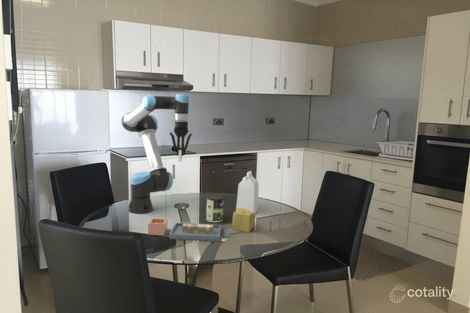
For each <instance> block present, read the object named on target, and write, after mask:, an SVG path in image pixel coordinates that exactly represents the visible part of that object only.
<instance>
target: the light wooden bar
mask: <svg viewBox="0 0 470 313" xmlns="http://www.w3.org/2000/svg"><path fill="white" fill-rule="evenodd" d="M201 224H202V223H195V224H183V225H182V232H183V233H203V234H213V225H201Z"/></svg>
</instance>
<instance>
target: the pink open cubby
mask: <svg viewBox="0 0 470 313" xmlns="http://www.w3.org/2000/svg"><path fill="white" fill-rule="evenodd" d="M168 220H169V219H168V218H160V217H159V218H157V217H151V218H150V220H149V221H148V223H147V235H151V236H153V235H155V236H157V235H159V236H165V235H166V233H167V231H168V224H169V223H168V222H169V221H168Z"/></svg>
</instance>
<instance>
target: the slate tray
mask: <svg viewBox="0 0 470 313" xmlns="http://www.w3.org/2000/svg"><path fill="white" fill-rule="evenodd" d="M173 224H174V225H173V226H172V228H171V230H170V232H169V234H168V235H169V236H168V239H169V240H170V239H171V240H184V241H186V240H188V241H204V240H207V241H209V242H220V241H221V240H220V239H221V233H222V224H215V223H214V224H212V223H210V224H209V223H207V224H206V223H200V224H201V225H213V234H203V233H183V232H182V225H183V224H196V223H193V222H174V223H173ZM207 241H206V242H207Z"/></svg>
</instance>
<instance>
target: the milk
mask: <svg viewBox="0 0 470 313" xmlns="http://www.w3.org/2000/svg"><path fill="white" fill-rule="evenodd" d="M237 186H238V187H237V196H236V207H235V211H236V210H237V209H238V208H242V209H246V210H250V211H251V212H253V214H254V215H256V213H257V212H258V211H259V181H258V180H257V179H256V178H255V177H254V175H253V172H252V171H251V170H249V171H247V172H246V176H244V177H242V180H241V181H239V183H238V185H237ZM257 210H258V211H257ZM256 211H257V212H256Z"/></svg>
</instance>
